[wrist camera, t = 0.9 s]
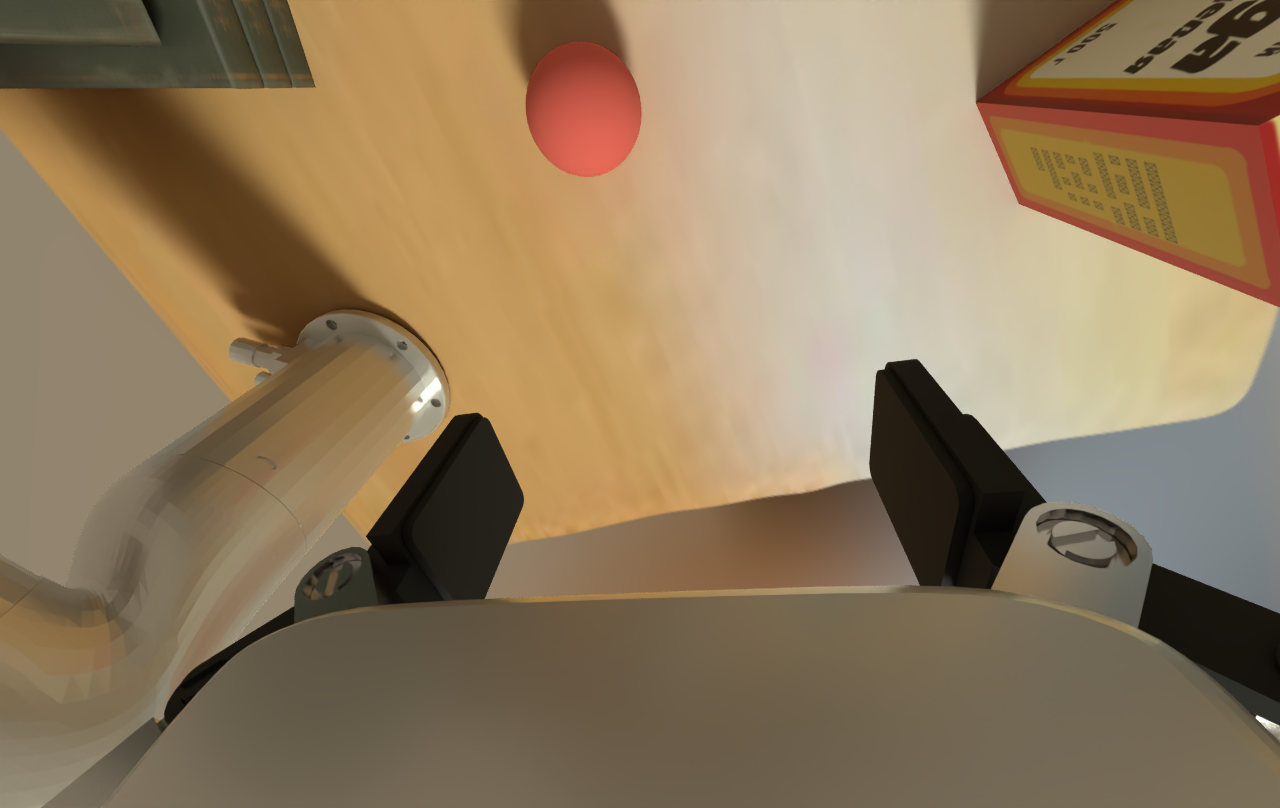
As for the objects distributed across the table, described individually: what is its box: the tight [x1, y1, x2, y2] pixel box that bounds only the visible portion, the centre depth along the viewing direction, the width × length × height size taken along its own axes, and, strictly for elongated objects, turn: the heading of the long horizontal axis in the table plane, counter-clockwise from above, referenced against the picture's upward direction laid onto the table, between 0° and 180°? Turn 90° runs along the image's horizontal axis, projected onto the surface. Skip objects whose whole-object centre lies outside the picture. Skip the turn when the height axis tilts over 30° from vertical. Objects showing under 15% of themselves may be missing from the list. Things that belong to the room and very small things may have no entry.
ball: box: [526, 41, 641, 177], centre depth 25 cm, size 6×6×6 cm
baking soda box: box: [976, 0, 1280, 307], centre depth 17 cm, size 10×6×16 cm
